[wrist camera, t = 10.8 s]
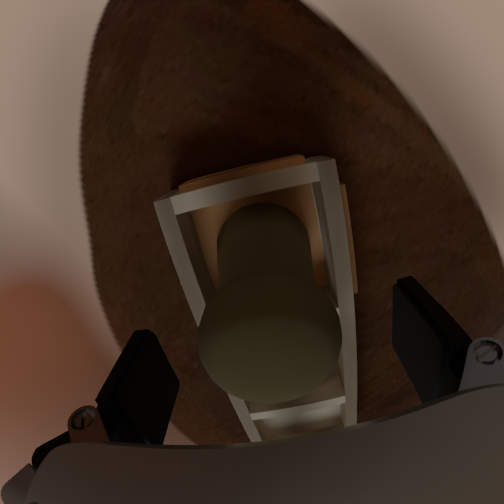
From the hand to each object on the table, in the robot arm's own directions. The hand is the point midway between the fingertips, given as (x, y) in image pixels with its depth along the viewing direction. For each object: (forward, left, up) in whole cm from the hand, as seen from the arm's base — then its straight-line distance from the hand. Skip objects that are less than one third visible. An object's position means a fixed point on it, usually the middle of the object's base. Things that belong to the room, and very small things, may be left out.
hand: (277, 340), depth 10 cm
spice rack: (0, +8, -10) cm, 13 cm away
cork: (0, 0, -9) cm, 9 cm away
